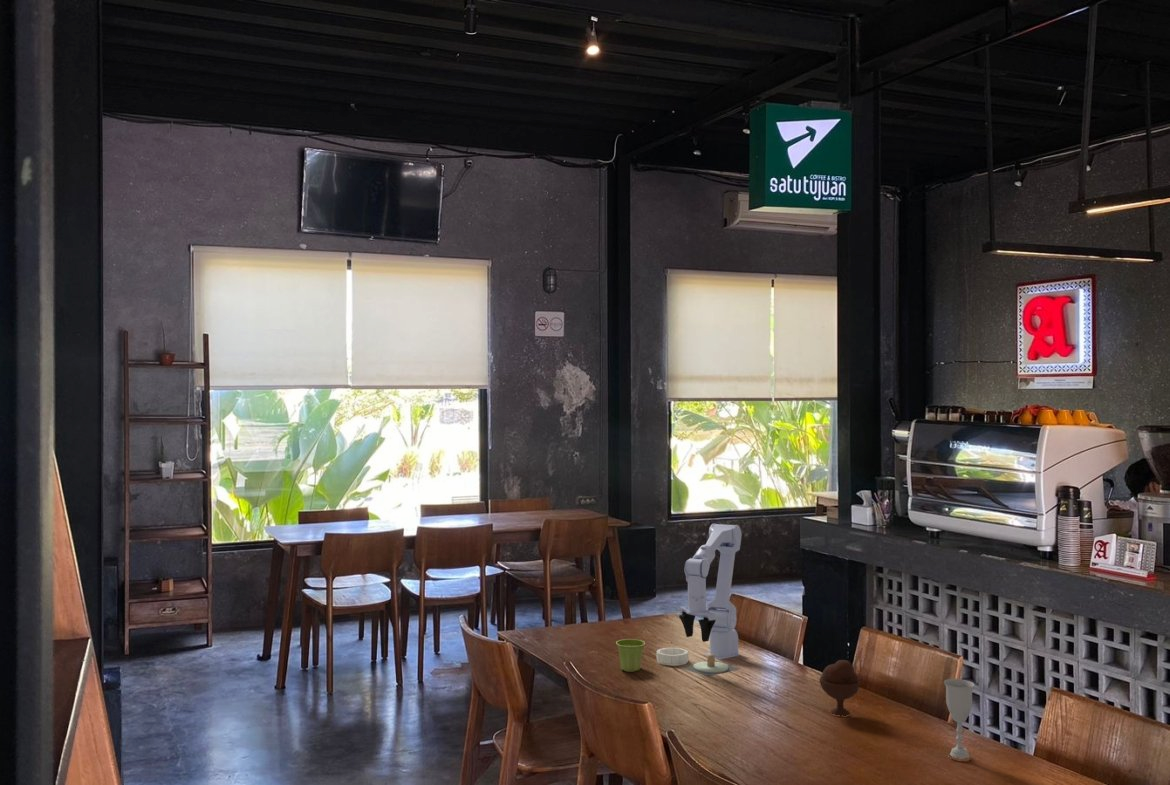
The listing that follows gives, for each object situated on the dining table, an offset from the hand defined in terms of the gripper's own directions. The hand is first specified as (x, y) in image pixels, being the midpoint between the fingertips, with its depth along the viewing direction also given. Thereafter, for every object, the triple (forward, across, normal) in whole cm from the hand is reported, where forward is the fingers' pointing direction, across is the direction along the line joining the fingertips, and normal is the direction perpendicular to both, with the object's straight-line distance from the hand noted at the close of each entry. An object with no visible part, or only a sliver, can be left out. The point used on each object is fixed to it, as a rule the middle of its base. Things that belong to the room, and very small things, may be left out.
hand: (697, 638), depth 317 cm
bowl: (+10, -11, -1) cm, 15 cm away
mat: (+10, +2, +3) cm, 11 cm away
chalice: (+10, +96, -2) cm, 96 cm away
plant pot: (+10, -13, -17) cm, 24 cm away
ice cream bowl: (+10, +57, +1) cm, 57 cm away
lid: (+10, +2, +3) cm, 10 cm away
